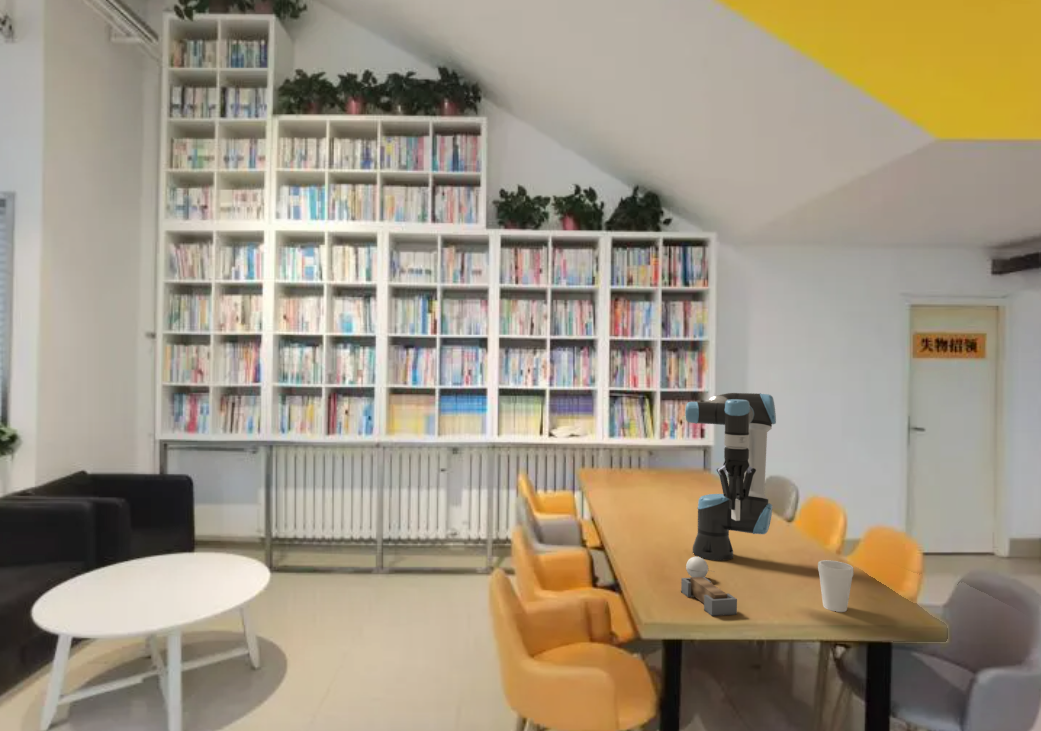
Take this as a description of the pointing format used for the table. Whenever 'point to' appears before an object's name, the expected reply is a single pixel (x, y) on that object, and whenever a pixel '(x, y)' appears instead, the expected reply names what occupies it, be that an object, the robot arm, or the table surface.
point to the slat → (705, 589)
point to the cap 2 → (720, 605)
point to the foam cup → (835, 584)
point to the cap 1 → (687, 586)
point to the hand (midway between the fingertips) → (735, 519)
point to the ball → (697, 567)
